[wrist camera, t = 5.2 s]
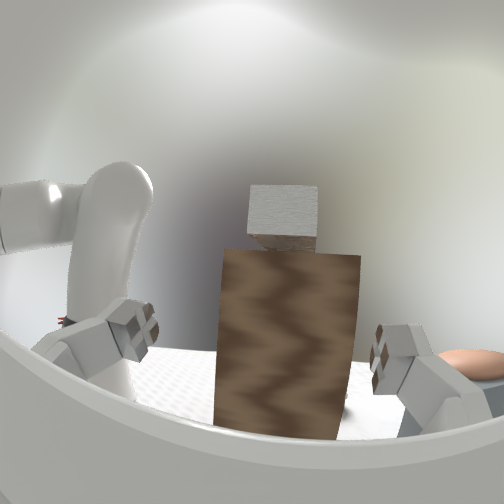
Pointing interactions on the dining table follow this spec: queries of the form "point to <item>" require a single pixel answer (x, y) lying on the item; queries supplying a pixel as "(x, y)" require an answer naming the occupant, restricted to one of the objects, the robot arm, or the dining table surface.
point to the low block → (476, 370)
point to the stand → (285, 342)
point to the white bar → (283, 217)
